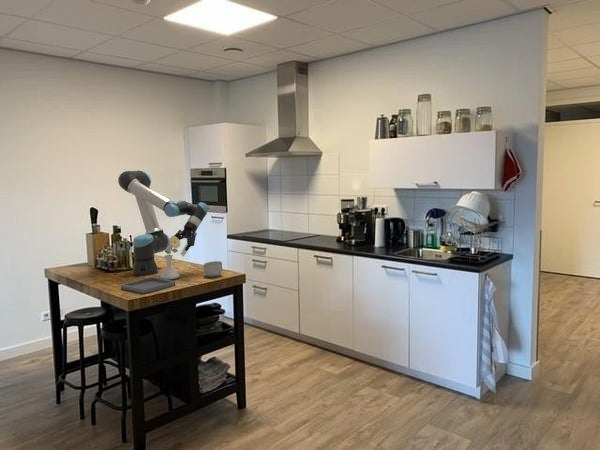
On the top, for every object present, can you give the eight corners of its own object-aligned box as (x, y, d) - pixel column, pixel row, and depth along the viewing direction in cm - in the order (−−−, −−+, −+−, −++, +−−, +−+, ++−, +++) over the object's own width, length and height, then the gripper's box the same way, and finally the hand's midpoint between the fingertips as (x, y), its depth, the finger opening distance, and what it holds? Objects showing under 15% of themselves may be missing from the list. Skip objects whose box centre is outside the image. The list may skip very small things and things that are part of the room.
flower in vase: (163, 282, 260) (161, 238, 257) (156, 278, 269) (154, 236, 266) (185, 278, 268) (183, 236, 265) (178, 275, 277) (176, 234, 274)
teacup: (218, 278, 267) (218, 264, 266) (201, 277, 269) (200, 264, 268) (227, 272, 280) (226, 260, 279) (210, 272, 282) (209, 259, 281)
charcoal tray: (121, 289, 247) (120, 284, 247) (152, 281, 263) (152, 277, 263) (144, 294, 235) (143, 289, 235) (175, 285, 251) (175, 281, 251)
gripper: (210, 230, 273) (192, 259, 263) (182, 227, 288) (164, 255, 277) (203, 222, 268) (184, 251, 258) (174, 220, 283) (156, 248, 272)
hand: (174, 253), depth 268 cm, fingers open, 13 cm apart
